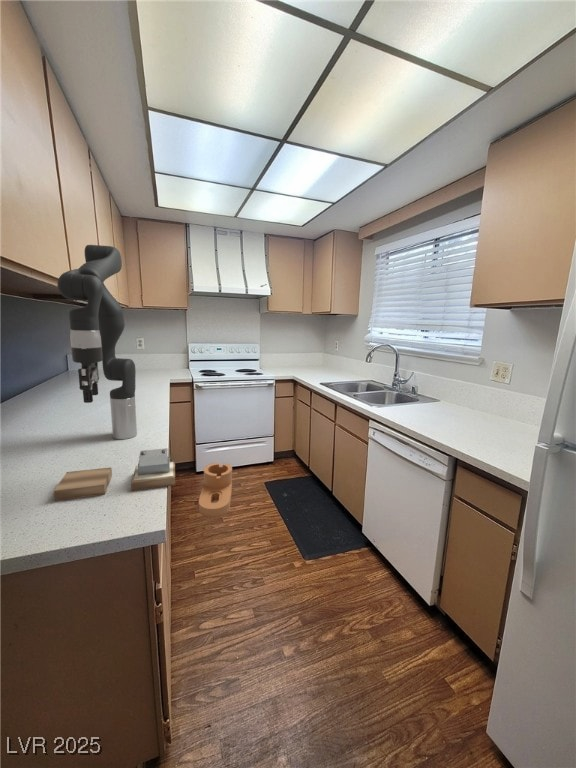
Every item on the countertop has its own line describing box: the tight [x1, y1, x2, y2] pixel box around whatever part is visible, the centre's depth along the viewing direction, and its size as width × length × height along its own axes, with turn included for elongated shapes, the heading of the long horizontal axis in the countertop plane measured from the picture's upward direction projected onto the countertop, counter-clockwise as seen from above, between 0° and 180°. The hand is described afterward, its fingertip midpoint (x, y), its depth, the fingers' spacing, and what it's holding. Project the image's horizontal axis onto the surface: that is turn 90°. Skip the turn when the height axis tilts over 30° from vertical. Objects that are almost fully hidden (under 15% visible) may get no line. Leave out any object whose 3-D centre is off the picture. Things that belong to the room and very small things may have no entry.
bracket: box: [198, 462, 233, 519], centre depth 88 cm, size 18×8×7 cm, turn 7°
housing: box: [137, 447, 171, 476], centre depth 96 cm, size 5×9×6 cm, turn 110°
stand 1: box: [53, 466, 113, 502], centre depth 91 cm, size 11×12×3 cm
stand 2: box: [131, 461, 176, 492], centre depth 97 cm, size 11×12×3 cm
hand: (91, 398), depth 93 cm, fingers open, 8 cm apart
